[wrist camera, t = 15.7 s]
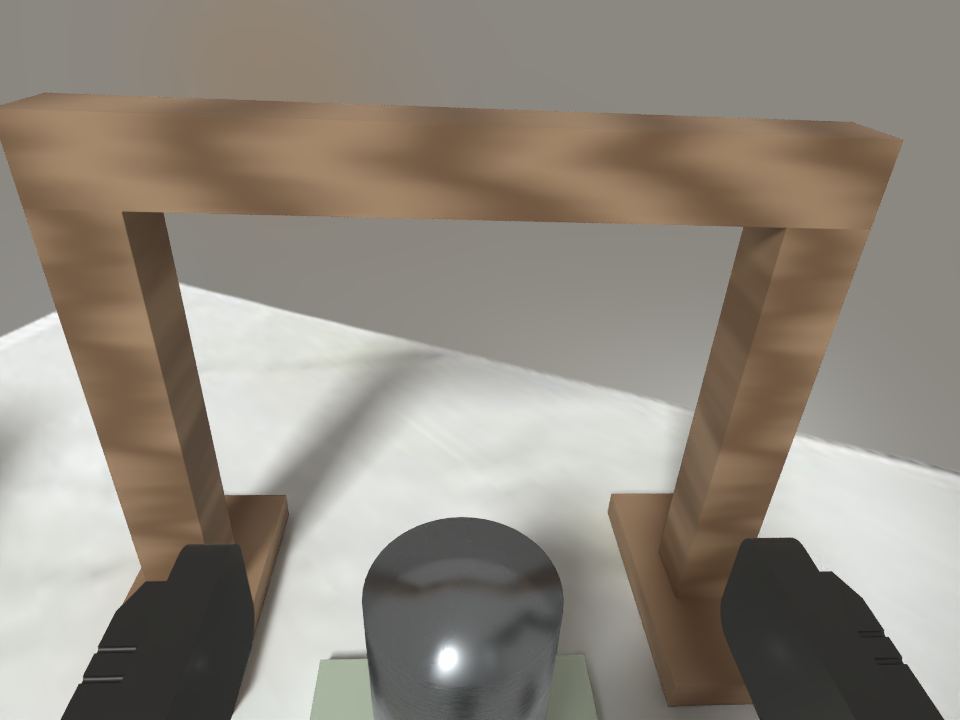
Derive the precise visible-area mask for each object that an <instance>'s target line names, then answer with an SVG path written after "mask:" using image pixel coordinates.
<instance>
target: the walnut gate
mask: <svg viewBox="0 0 960 720" xmlns="http://www.w3.org/2000/svg"><path fill="white" fill-rule="evenodd" d="M0 140H1V143H2V146H3V149H4V152H5V155H6V158H7V161H8V164H9V167H10V170H11V173H12V176H13V179H14V182H15V185H16V188H17V191H18V194H19V197H20V200H21V203H22V206H23V209H24V213H25V216H26V218H27V222H28V224H29V227H30V231H31V234H32V237H33V240H34V243H35V246H36V249H37V252H38V255H39V258H40V261H41V264H42V267H43V270H44V273H45V276H46V279H47V282H48V285H49V288H50V291H51V294H52V297H53V300H54V303H55V307H56V310H57V313H58V316H59V319H60V322H61V325H62V328H63V331H64V334H65V337H66V340H67V343H68V346H69V349H70V352H71V355H72V358H73V361H74V364H75V367H76V370H77V373H78V376H79V379H80V382H81V385H82V388H83V391H84V394H85V397H86V401H87V404H88V407H89V410H90V413H91V416H92V419H93V422H94V425H95V428H96V431H97V434H98V437H99V440H100V443H101V446H102V449H103V452H104V455H105V458H106V461H107V464H108V467H109V470H110V473H111V476H112V479H113V482H114V485H115V488H116V491H117V494H118V498H119V501H120V504H121V507H122V510H123V513H124V516H125V519H126V522H127V525H128V528H129V531H130V534H131V537H132V540H133V543H134V546H135V549H136V552H137V555H138V558H139V561H140V564H141V567H142V568H141V570H140V572H139V574H138V575H137V577H136V579H135V581H134V583H133V585H132V587H131V589H130V591H129V593H128V595H127V597H126V599H125V601H124V603H125V602H126V601H127V600H128V599H129V598H130V597H131V596H132V595H133V594H134V593H135V592H136V591H137V590H138V589H139V588H140V586H141V585H142V584H143V583H144V582H145V581H167V579H168V577H169V575H170V572H171V570H172V568H173V566H174V564H175V561H176V559H177V557H178V555H179V553H180V551H181V550H182V548H183V547H184V546H186V545H187V544H238V545H239V546H240V548H241V551H242V556H243V560H244V564H245V569H246V573H247V577H248V582H249V586H250V591H251V595H252V599H253V604H254V611H255V624H254V634H255V630H256V627H257V623H258V620H259V616H260V613H261V609H262V606H263V603H264V599H265V596H266V592H267V589H268V585H269V582H270V578H271V575H272V571H273V568H274V564H275V561H276V557H277V554H278V550H279V547H280V543H281V540H282V536H283V533H284V529H285V526H286V522H287V519H288V515H289V513H288V506H287V499H286V495H224V491H223V486H222V482H221V477H220V472H219V468H218V463H217V459H216V454H215V449H214V445H213V440H212V435H211V431H210V426H209V422H208V417H207V412H206V408H205V403H204V398H203V394H202V389H201V385H200V380H199V375H198V371H197V366H196V361H195V357H194V352H193V348H192V343H191V338H190V334H189V329H188V324H187V320H186V315H185V311H184V306H183V301H182V297H181V292H180V287H179V283H178V278H177V274H176V269H175V265H174V260H173V256H172V251H171V246H170V242H169V237H168V232H167V228H166V223H165V218H164V213H163V212H169V213H210V214H250V215H290V216H331V217H372V218H373V217H374V218H375V217H376V218H413V219H414V218H415V219H454V220H494V221H495V220H496V221H534V222H576V223H617V224H657V225H658V224H659V225H697V226H698V225H699V226H738V227H743V231H742V234H741V238H740V242H739V246H738V250H737V254H736V257H735V261H734V265H733V269H732V273H731V276H730V280H729V284H728V288H727V292H726V295H725V300H724V303H723V307H722V311H721V315H720V318H719V323H718V326H717V330H716V334H715V338H714V341H713V345H712V349H711V353H710V357H709V360H708V364H707V368H706V372H705V376H704V379H703V383H702V387H701V391H700V395H699V398H698V402H697V406H696V410H695V414H694V418H693V421H692V425H691V429H690V433H689V437H688V440H687V444H686V448H685V452H684V456H683V459H682V463H681V467H680V471H679V475H678V479H677V482H676V486H675V490H674V494H611V498H610V503H609V509H608V515H609V518H610V521H611V525H612V528H613V531H614V534H615V537H616V541H617V544H618V547H619V550H620V553H621V557H622V560H623V563H624V566H625V569H626V573H627V576H628V579H629V582H630V585H631V589H632V592H633V595H634V598H635V601H636V605H637V608H638V611H639V614H640V617H641V621H642V624H643V627H644V630H645V633H646V636H647V640H648V643H649V646H650V649H651V652H652V656H653V659H654V662H655V665H656V668H657V672H658V675H659V678H660V681H661V684H662V688H663V691H664V694H665V697H666V700H667V704H668V706H691V705H729V704H753V702H752V700H751V697H750V695H749V693H748V690H747V688H746V686H745V683H744V681H743V679H742V676H741V674H740V672H739V669H738V667H737V664H736V662H735V660H734V657H733V655H732V653H731V650H730V648H729V646H728V643H727V641H726V638H725V636H724V632H723V628H722V623H721V615H720V606H721V599H722V596H723V593H724V590H725V587H726V584H727V581H728V578H729V576H730V573H731V570H732V567H733V564H734V561H735V559H736V556H737V553H738V550H739V547H740V545H741V543H742V542H743V540H745V539H747V538H757V536H758V534H759V531H760V528H761V526H762V523H763V520H764V517H765V515H766V512H767V509H768V507H769V504H770V501H771V498H772V496H773V493H774V490H775V488H776V485H777V482H778V479H779V477H780V474H781V471H782V469H783V466H784V463H785V460H786V458H787V455H788V452H789V450H790V447H791V444H792V441H793V439H794V436H795V433H796V431H797V428H798V425H799V422H800V420H801V417H802V414H803V412H804V409H805V406H806V403H807V401H808V398H809V395H810V393H811V390H812V387H813V384H814V382H815V379H816V376H817V373H818V371H819V368H820V365H821V363H822V360H823V357H824V355H825V352H826V349H827V346H828V344H829V341H830V338H831V335H832V332H833V330H834V327H835V325H836V322H837V319H838V316H839V314H840V311H841V308H842V306H843V303H844V300H845V297H846V295H847V292H848V289H849V287H850V284H851V281H852V278H853V276H854V273H855V270H856V268H857V265H858V262H859V259H860V257H861V254H862V251H863V249H864V246H865V243H866V241H867V238H868V235H869V232H870V230H871V227H872V224H873V221H874V219H875V216H876V213H877V210H878V208H879V205H880V203H881V200H882V197H883V194H884V192H885V189H886V186H887V183H888V181H889V178H890V175H891V172H892V170H893V167H894V165H895V161H896V159H897V156H898V153H899V151H900V148H901V145H902V143H903V140H902V139H900V138H897V137H894V136H891V135H888V134H885V133H882V132H879V131H876V130H874V129H871V128H868V127H865V126H862V125H859V124H856V123H853V122H835V121H807V120H806V121H805V120H779V119H753V118H751V119H750V118H724V117H698V116H697V117H696V116H669V115H640V114H614V113H587V112H559V111H531V110H504V109H477V108H449V107H421V106H420V107H419V106H394V105H366V104H338V103H310V102H283V101H256V100H255V101H254V100H227V99H201V98H173V97H144V96H118V95H90V94H62V93H43V94H39V95H36V96H32V97H29V98H25V99H22V100H18V101H15V102H11V103H7V104H4V105H0ZM124 603H123V604H124ZM254 634H253V637H254ZM252 641H253V640H252Z"/></svg>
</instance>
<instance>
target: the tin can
mask: <svg viewBox="0 0 960 720" xmlns="http://www.w3.org/2000/svg"><path fill="white" fill-rule="evenodd" d="M362 607H363V618H364V628H365V638H366V649H367V659H368V669H369V679H370V689H371V699H372V709H373V720H546V719H547V713H548V706H549V699H550V693H551V686H552V679H553V673H554V666H555V659H556V653H557V646H558V639H559V633H560V626H561V620H562V613H563V590H562V586H561V582H560V578H559V576H558V573H557V571H556V569H555V567H554V565H553V564H552V562H551V560H550V559H549V558H548V556H547V555H546V554H545V552H544V551H543V550H542V549H541V548H540V547H539V546H538V545H537V544H536V543H534V542H533V541H532V540H531V539H529V538H528V537H527V536H525V535H523V534H522V533H520V532H519V531H517V530H515V529H513V528H510V527H508V526H506V525H503V524H500V523H497V522H494V521H490V520H486V519H479V518H467V517H458V518H446V519H440V520H435V521H431V522H428V523H425V524H422V525H419V526H417V527H415V528H413V529H411V530H408V531H407V532H405V533H403V534H402V535H400V536H399V537H397V538H396V539H395V540H393V541H392V542H391V543H390V544H388V545H387V546H386V547H385V548H384V549H383V550H382V551H381V553H380V554H379V555H378V557H377V558H376V559H375V561H374V562H373V564H372V566H371V568H370V569H369V572H368V574H367V577H366V579H365V583H364V587H363V595H362Z"/></svg>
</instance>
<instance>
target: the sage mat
mask: <svg viewBox="0 0 960 720" xmlns="http://www.w3.org/2000/svg"><path fill="white" fill-rule="evenodd" d="M310 720H373V709H372V699H371V689H370V679H369V669H368V659H330V660H320V665H319V671H318V676H317V682H316V688H315V693H314V699H313V704H312V710H311V716H310ZM546 720H598V718H597V713H596V708H595V703H594V699H593V694H592V689H591V685H590V680H589V675H588V670H587V666H586V661H585V656H584V654H569V655H556V659H555V666H554V673H553V679H552V686H551V693H550V699H549V706H548V713H547V719H546Z"/></svg>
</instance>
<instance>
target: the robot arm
mask: <svg viewBox="0 0 960 720" xmlns="http://www.w3.org/2000/svg"><path fill="white" fill-rule="evenodd" d="M720 615H721V623H722V628H723V632H724V636H725V638H726V641H727V643H728V646H729V648H730V650H731V653H732V655H733V657H734V660H735V662H736V664H737V667H738V669H739V672H740V674H741V676H742V679H743V681H744V683H745V686H746V688H747V690H748V693H749V695H750V697H751V700H752V702H753V704H754V707H755V709H756V711H757V714H758V716H759V719H760V720H944V719H943V717H942V716H941V714H940V713H939V711H938V710H937V708H936V707H935V705H934V704H933V702H932V701H931V699H930V698H929V696H928V695H927V693H926V692H925V690H924V689H923V687H922V686H921V684H920V683H919V681H918V680H917V678H916V677H915V675H914V674H913V673H912V671H911V670H910V668H909V667H908V665H907V664H904V663H903V662H902V656H901V655H900V653H899V652H898V650H897V649H896V647H895V646H894V644H893V643H892V641H891V640H890V638H889V637H885V635H884V629H883V628H882V626H881V625H880V623H879V622H878V620H877V619H876V617H875V616H874V614H873V613H872V612H871V610H870V609H869V607H868V606H867V604H866V603H865V601H864V600H863V598H862V597H860V596H859V595H858V594H857V593H856V592H855V591H854V590H852V589H851V588H850V587H849V586H848V585H847V584H846V583H844V582H843V581H842V580H841V579H840V578H839V577H838V576H836V575H835V574H834V573H833V572H832V571H828V572H819V570H818V569H817V567H816V565H815V564H814V562H813V561H812V559H811V557H810V556H809V554H808V553H807V551H806V549H805V548H804V547H803V545H802V544H801V543H800V542H799V541H798V540H796V539H794V538H747V539H745V540H743V542H742V543H741V545H740V547H739V550H738V553H737V556H736V559H735V561H734V564H733V567H732V570H731V573H730V576H729V578H728V581H727V584H726V587H725V590H724V593H723V596H722V599H721V606H720ZM254 624H255V611H254V604H253V599H252V595H251V591H250V586H249V582H248V577H247V573H246V569H245V564H244V560H243V556H242V551H241V548H240V546H239V545H238V544H187V545H186V546H184V547H183V548H182V550H181V551H180V553H179V555H178V557H177V559H176V561H175V564H174V566H173V568H172V570H171V572H170V575H169V577H168V579H167V581H145V582H144V583H143V584H142V585H141V586H140V588H139V589H138V590H137V591H136V592H135V593H134V594H133V595H132V596H131V597H130V598H129V599H128V600H127V601H126V602H125V603H124V604H123V605H122V606H121V607H120V608H119V609H118V610H117V611H116V612H115V614H114V616H113V618H112V620H111V622H110V624H109V626H108V628H107V630H106V632H105V634H104V636H103V638H102V640H101V642H100V644H99V646H98V652H97V654H94V655H93V657H92V659H91V661H90V663H89V665H88V667H87V669H86V671H85V673H84V675H83V682H82V683H81V684H79V685H78V687H77V689H76V691H75V693H74V695H73V697H72V698H71V700H70V702H69V704H68V706H67V708H66V710H65V712H64V714H63V716H62V718H61V720H231V717H232V713H233V709H234V706H235V702H236V699H237V695H238V692H239V688H240V685H241V681H242V678H243V674H244V671H245V667H246V664H247V660H248V657H249V653H250V649H251V645H252V640H253V634H254Z"/></svg>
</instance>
